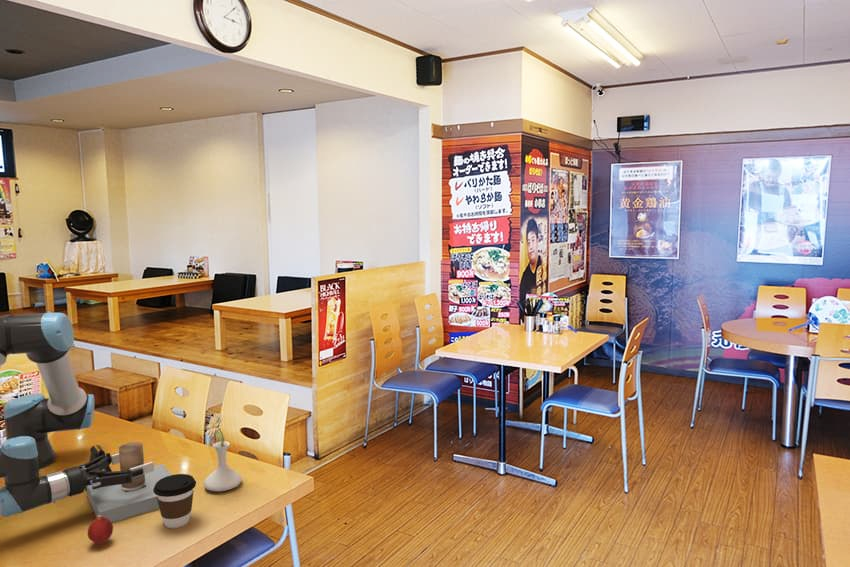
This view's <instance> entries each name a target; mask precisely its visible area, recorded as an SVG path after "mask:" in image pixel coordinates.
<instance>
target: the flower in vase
mask: <svg viewBox="0 0 850 567" xmlns="http://www.w3.org/2000/svg"><path fill="white" fill-rule="evenodd" d="M222 419H223V418H222V415H221V413H220V412H219V413H217V412H215V413H214V414H213V416H211V417H210V420H209V424H207V426H206V429H207V430H206V432H205V436H207V438H206V439H211V438H213V437H215V438H216V439H217V440H218V441H217V442H215V443H213V445H212V447H213V448H214V449H215V451H216V454H217V460H218V462H217V464H218V465H217V468H216V469H215V470H213V471H212V472H211V473H210V474H209V475H208V476H207V477H206V478H205V480H204V482H203V486H204V488H206V489H207V490H208V491H212V492H223V491H224V492H225V491H228V490H232V489H234V488H236V487H238V486H239V485H240V484H241V482H242V480H243V478H242V476H241V474H240V473H239V472H237V471H236V470H234V469H232V468H230V467H229V466H228V464H227V460H226V459H227V450H228V448H229V446H230V442H229V441H226V440H225V436H224V434H223V432H222V430H221V428H220V427H221V425H222V421H223V420H222Z"/></svg>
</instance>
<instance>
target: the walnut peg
mask: <svg viewBox="0 0 850 567" xmlns="http://www.w3.org/2000/svg"><path fill="white" fill-rule="evenodd" d="M143 445H144V444H143V443H142V442H140V441H139V442H138V441H135V442H133V441H132V442H126V443H124V444H121V445H120V446H119V447H118V454H119V457H120V463H119V471H129V470H130V468H134V467H137V466H140V465H143V464H145V457H144V446H143ZM145 484H146V481H145V474H143V475H140V476H137V477H134V478H132V482H131V483H126V484H121V489H122V490H124V491H126V492H129V491H134V490H138V489H141V488H142V487H144V486H145Z"/></svg>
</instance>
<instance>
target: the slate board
mask: <svg viewBox="0 0 850 567" xmlns="http://www.w3.org/2000/svg"><path fill="white" fill-rule="evenodd" d="M171 475H172V474H171V473H170V471H169V470H168V469H167V468H166V466H165V465H164V464H163V463H161V464H157V465H154V471H153V472H150V473H147V474H145V481H146V484H145V486H144V487H142V488H141V489H138V490H134V491H129V492H126V491H124V490H122V489H121V484H119V485H113V486H106V487H101V488H97V489H92V485H88V486H86V487H87V491H86V497H87V498H89V499H88V501H89V503H90V505H92V506H91V508H92V510H93V512H95V513H94V515H95V518H96V517H97V516H98V515H101V516H102V517H105V518H107V519H109V520H110V521H111V523H112V524H113V523H115V522H118V521H122V520H126V519H129V518H133V517H136V516H139V515H143V514H147V513H149V512H150V513H151V512H153V511H156V510H160V509H159V505H158V501H157V495H156V494H155V493H154V492H153V489H154V486H155V484H156V482H158V481H159V480H160V479H162V478H164V477H167V476H171Z"/></svg>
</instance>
